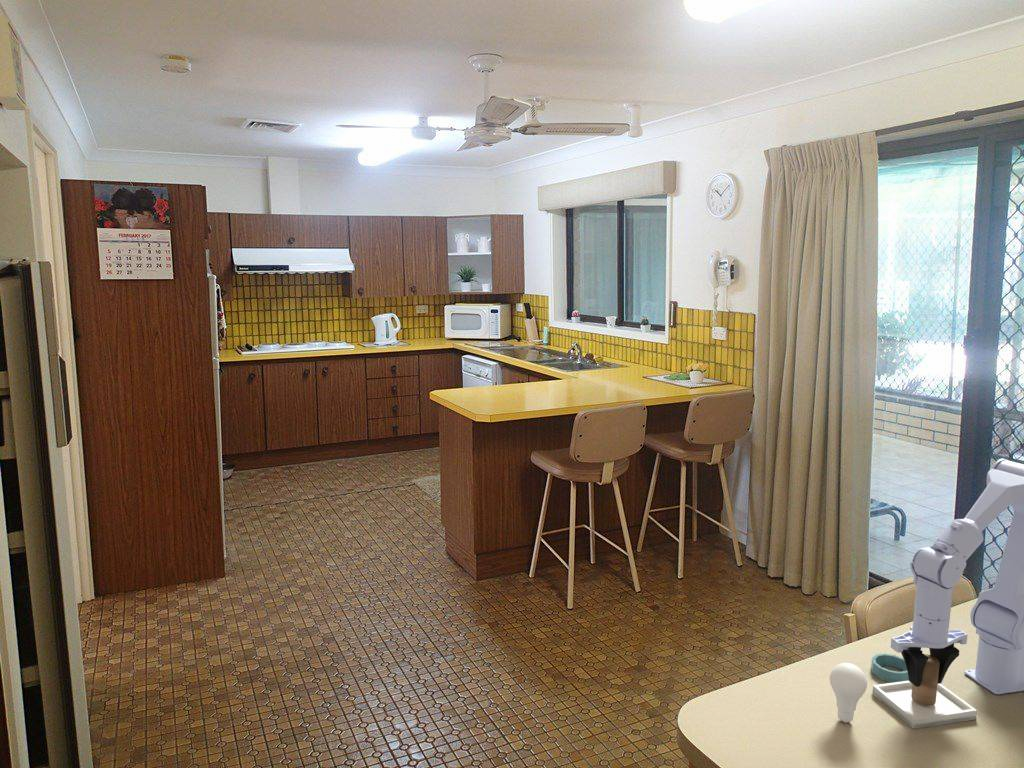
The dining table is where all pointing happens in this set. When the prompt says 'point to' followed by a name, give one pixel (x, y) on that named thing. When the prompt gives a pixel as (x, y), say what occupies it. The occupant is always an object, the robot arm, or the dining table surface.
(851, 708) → the lightbulb
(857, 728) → the dining table surface
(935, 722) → the tray
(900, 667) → the teal ring
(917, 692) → the dowel
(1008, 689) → the robot arm
